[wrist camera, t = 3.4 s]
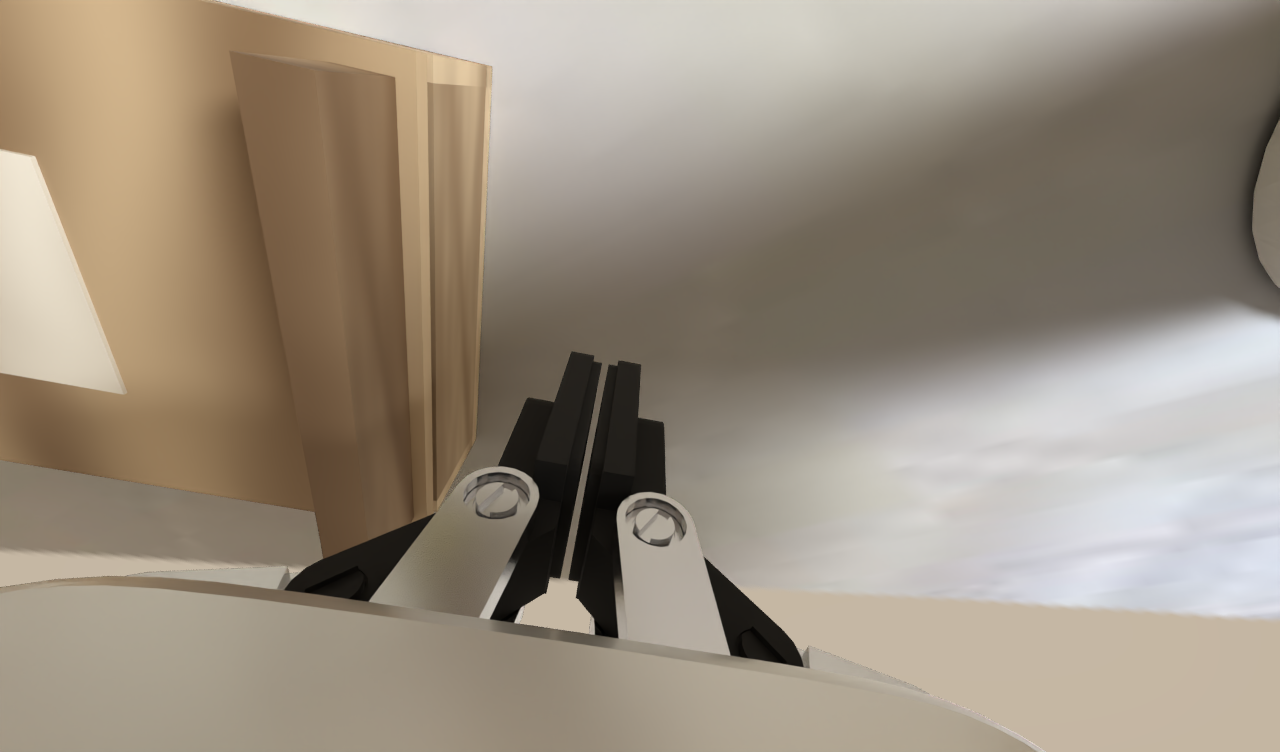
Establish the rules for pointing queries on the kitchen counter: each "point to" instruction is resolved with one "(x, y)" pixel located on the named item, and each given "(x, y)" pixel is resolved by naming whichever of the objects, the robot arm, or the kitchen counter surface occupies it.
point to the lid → (217, 257)
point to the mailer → (452, 248)
